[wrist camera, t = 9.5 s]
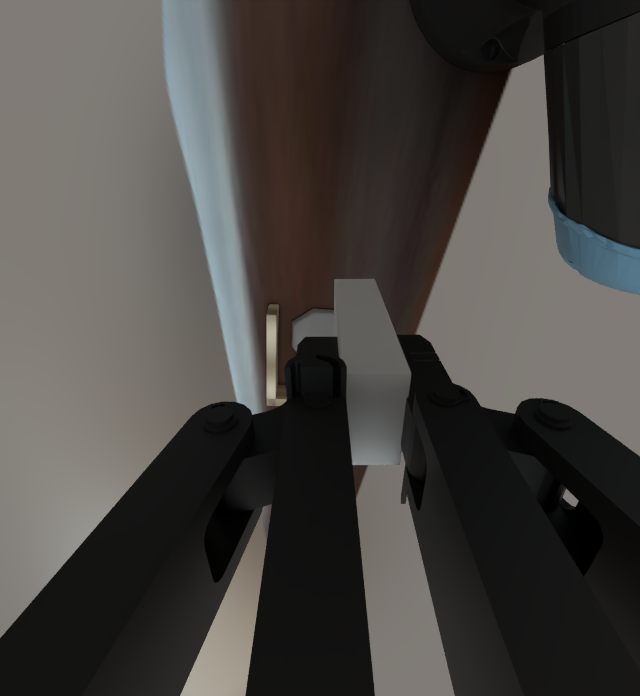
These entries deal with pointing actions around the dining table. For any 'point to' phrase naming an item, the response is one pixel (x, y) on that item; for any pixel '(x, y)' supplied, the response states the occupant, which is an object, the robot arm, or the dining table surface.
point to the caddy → (273, 360)
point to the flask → (312, 325)
